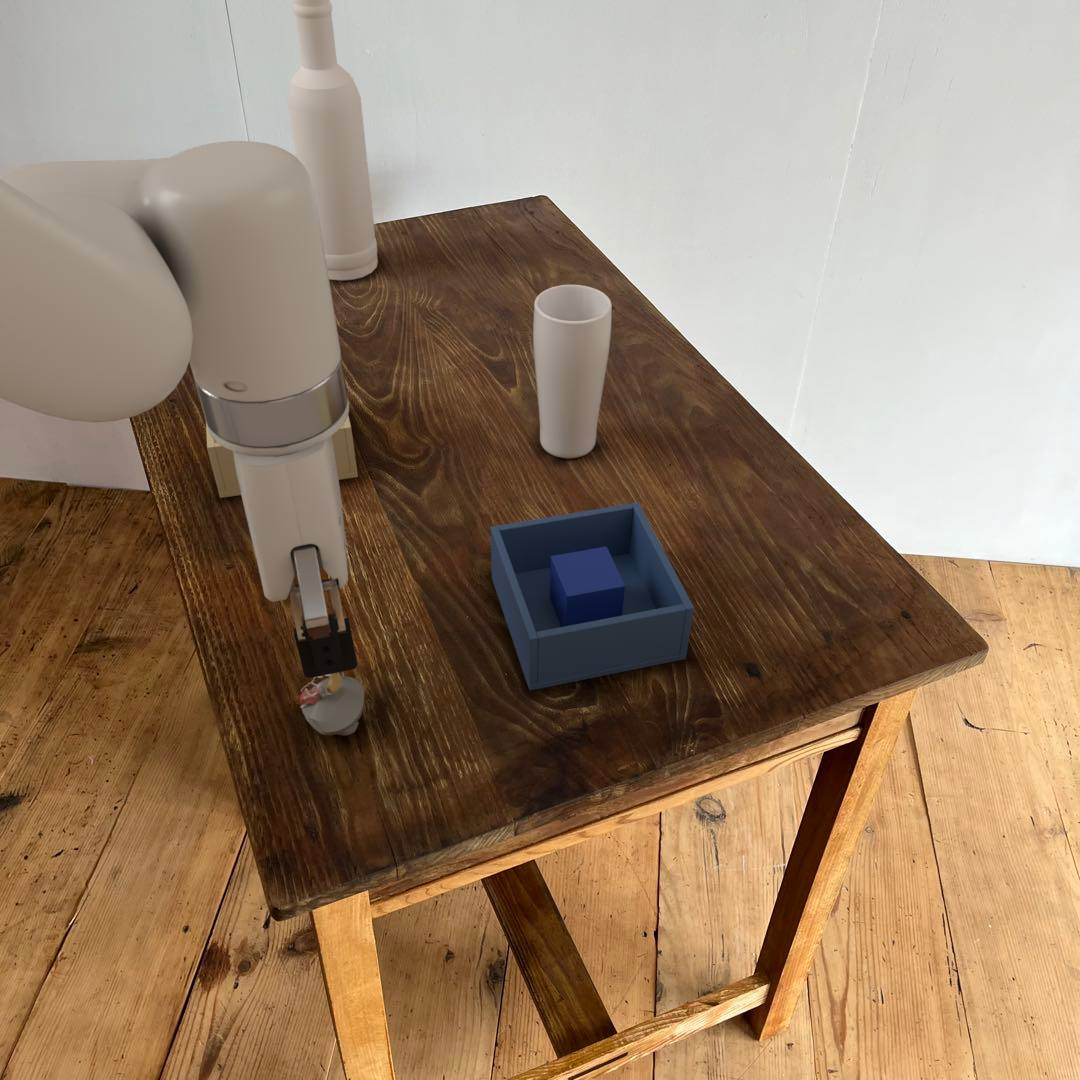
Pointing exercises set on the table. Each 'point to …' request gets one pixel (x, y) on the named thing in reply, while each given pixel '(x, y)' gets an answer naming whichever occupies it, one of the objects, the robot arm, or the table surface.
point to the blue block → (585, 586)
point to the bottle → (332, 145)
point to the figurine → (333, 704)
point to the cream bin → (227, 471)
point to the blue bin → (603, 645)
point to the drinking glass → (570, 366)
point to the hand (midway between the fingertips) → (322, 613)
